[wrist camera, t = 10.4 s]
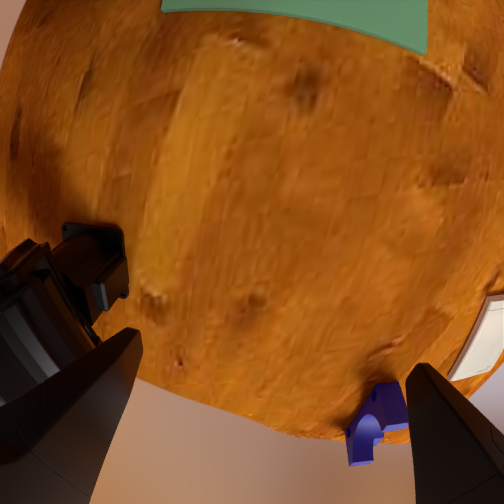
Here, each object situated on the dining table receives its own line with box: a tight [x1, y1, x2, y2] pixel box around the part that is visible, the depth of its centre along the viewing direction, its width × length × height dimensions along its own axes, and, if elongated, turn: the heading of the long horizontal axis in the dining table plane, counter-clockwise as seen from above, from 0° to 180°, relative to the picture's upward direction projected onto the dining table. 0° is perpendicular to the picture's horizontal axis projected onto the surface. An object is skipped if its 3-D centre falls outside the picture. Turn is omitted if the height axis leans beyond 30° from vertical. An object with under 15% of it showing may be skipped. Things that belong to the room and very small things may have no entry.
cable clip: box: [345, 382, 408, 466], centre depth 27 cm, size 12×4×6 cm, turn 176°
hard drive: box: [448, 294, 504, 381], centre depth 23 cm, size 2×8×12 cm
